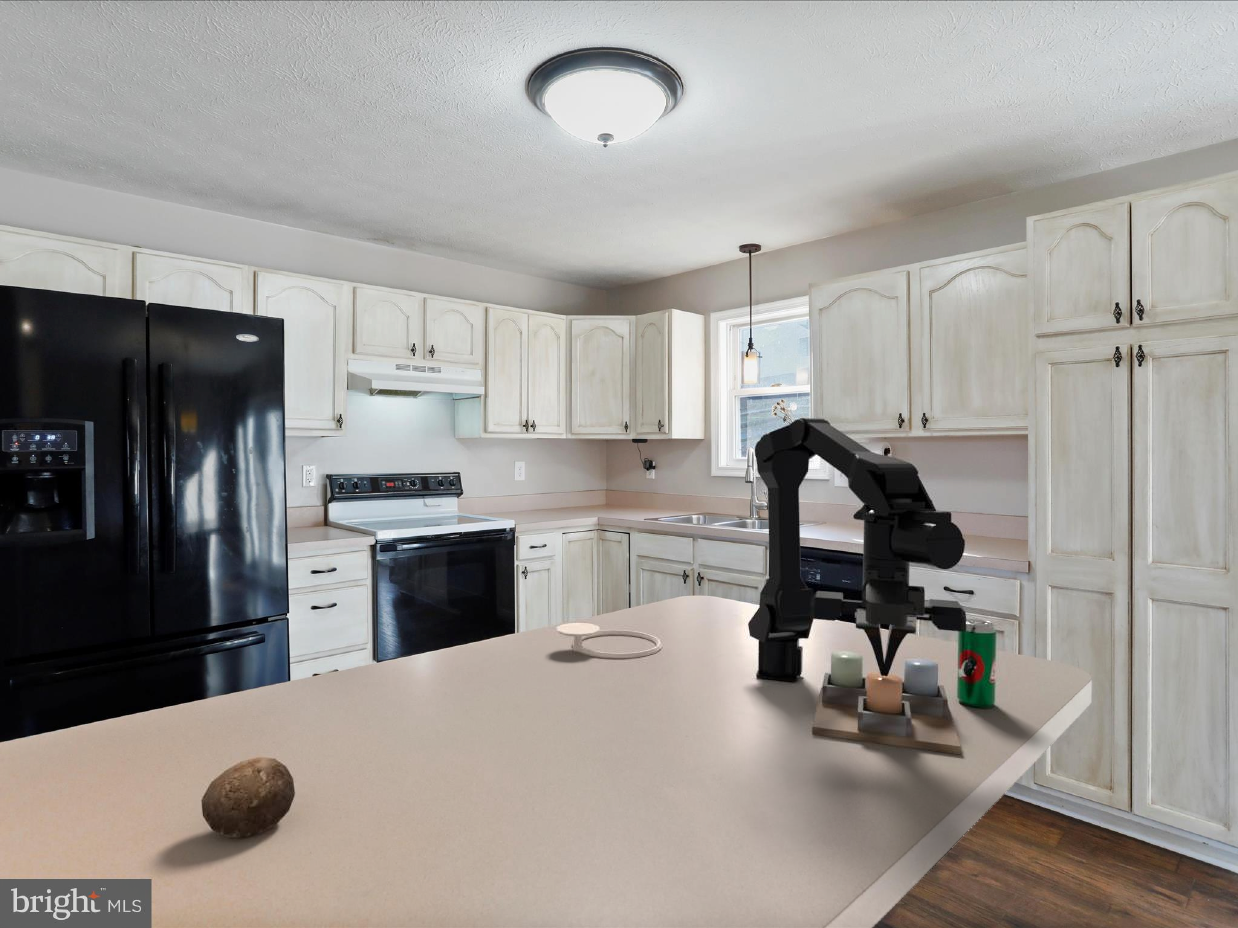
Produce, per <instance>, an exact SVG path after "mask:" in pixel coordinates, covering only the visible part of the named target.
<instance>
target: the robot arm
mask: <svg viewBox="0 0 1238 928" xmlns="http://www.w3.org/2000/svg"><path fill="white" fill-rule="evenodd" d="M816 455H817V457H819V458H820V459H822V460H823V461H825V462H826V463H827V464H828V465H830V466H831V467H833V468H834V469H836V470H837V471H839V472H840V473H841V474H842V475H843V476H845V478H847V481H848V488H849V490H850V491H851V492H852V493H853V494H854V495H855V496H856V497H857V498H858V500H859V501H860V502H862V504H863V505H862V507H861V508H860V509H858V510H857V511H856V512H855V513H854V514H853V517H852V518H853V519H854V520H856V521H857V520H858V521H863V549H862V550H863V552H862V553H863V556H862V557H863V559H862V586H861V600H856V599H855V600H854V599H853V600H852V599H844V593H843V592H836V591H821V590H817V591H816V592H814V589H813V588H809V587H808V586H807V585H806V583H805V581H804V579H803V578H802V574H801V573H802V569H801V568H802V567H801V531H800V530H801V529H800V528H801V525H800V523H801V522H800V487H801V486H802V485H801V484H802V483H803V481H804V479H805V478H806V476H807V475H808V472H809V467H810V466H809V465H810V460H811V459H813V458H815V456H816ZM754 456H755V459H756V460H755V461H756V469H757V473H758V475H759V476H760V478H761V480H762V481H763V484H764V485H765V486H766V488H767V510H768V511H767V512H768V515H767V516H768V552H769V553H768V554H769V559H768V560H769V576H768V579H767V580H766V582H765V584H764V586H763V587H762V589H761V591H760V594H759V606H758V609H757V610H756V611H755V612H754V614H753V616H752V617H751V619H750V620H748V622H747V623H748V624H747V627H748V632H749V636H750V638H751V637H752V639H753V638H754V639H755V640H757V641H758V652H757V653H758V654H757V655H758V661H757V662H758V664H757V672H756V673H755V677H756V678H759V679H768V680H774V681H777V680H778V681H787V682H793V683H794V682H795V683H796V682H797V681H798V679H799V677H800V676H801V675H802V672H803V650H804V649H803V646H802V645H801V646H800V639H801V640H803V639H805V640H806V639H807V640H808V639H809V638H810V633H811V630H812V626H813V623H814V620H821V621H822V620H823V621H832V622H834V621H836V620H838V619H839V618H840V617H841V616H842V614H845V615H854V618H855V628H856V629H858V630H863V631H864V633H865V635H866V637H867V638H868V640H869V642H870V644H871V648H872V650H873V654H874V657H875V660H876V663H877V666H878V670H879V673H880V674H881V676H888V674H890V671H891V668H892V665H893V662H894V660H895V657H896V655H897V652H898V649H899V648H900V645H901V644H902V642H903V640H904V639H905V637H906V636H908V634H910V635H911V634H916V632H917V629H916V628H917V627H916V624H915V623H917V621H919V620H920V621H927V622H928V621H929V622H931V624H933V625H934V627H935V628H937V630H939V631H952V632H958V631H960V632H962V631H966V619H967V614H966V610H965V608H964V607H963V605H961V604H960V602H959V601H957V600H946V599H945V600H944V599H934V598H929V600H928V605H925V604H926V603H925V602H926V600H925V598H926V597H925V596H926V593H925V592H926V591H925V587H924V586H921V585H920V586H919V585H910V563H912V564H917V565H920V566H921V565H922V566H926V567H931V568H936V569H940V570H949V569H952V568H954V567H955V566H957V565H958V564H959V562H960V561H961V559H962V558H963V555H964V552H965V549H966V547H965V545H966V540H965V539H964V537H963V533H962V531H961V529H960V528H959V526H958V525H956V524H955V523H954V522H952V512H951V511H945V510H940V511H937V509H936V507H935V505H934V504H933V500H932V499H931V498H930V496H929V494H928V492H927V490H926V488H925V486H924V484H923V482H922V480H921V478H920V476H919V470H918V469H917V467H916V466H914V464H912V463H911V462H908V461H905V460H903V459H900V458H897V457H894V456H889V455H884V454H881V453H876V452H873V451H872V450H870V449H868V448H867V447H865V446H863V445H862V444H860V443H859V442H857V441H856V440H854V439H852V437H849V435H846V434H845V433H844V432H842V431H840V430H839V429H837V428H835V427H834V426H833V425H831V423H830V422H829V421H828V420H826V419H825V418H821V417H799V418H798V419H795V420H793V421H792V422H791V423H790V424H787V425H785V426H783V427H780V428H777V429H775V430H773V431H770V432H768V433H765V434H763V435H762V436H761V437H760V439H759V440H758V441H757V442H756V444H755V447H754ZM881 625H889V627H888V634H887V639H886V640H887V641H886V649H885V655H884V648H883V641H882V632H881Z"/></svg>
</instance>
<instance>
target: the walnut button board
mask: <svg viewBox="0 0 1238 928" xmlns="http://www.w3.org/2000/svg"><path fill="white" fill-rule="evenodd" d="M866 691H867V676H862V686H861V687H857V688H850V687H841V686H836V685H834V684H832V683H831V672H825V673H824V676H823V681H822V687H820V690H819V695H818V698H817V703H816V708H815V713H814V716H813V717H814V718H813V723H812V725H811V726H812V727H811V730H812V731H811V735H814V736H815V735H816V736H824V737H830V738H831V737H832V738H837V739H838V738H839V739H844V740H845V739H846V740H852V741H860V742H868V743H874V744H880V745H881V744H882V745H889V746H895V747H896V746H897V747H904V748H912V749H918V750H924V751H925V750H926V751H934V752H939V753H940V752H941V753H946V754H947V753H948V754H955V755H961V752H962V750H961V747H962V746H961V743H960V740H959V736H958V732H957V729H956V726H955V722H954V719H953V716H952V712H951V709H950V706H949V703H948V701H949V699H948V696H947V693H946V689H945V686H944V685H942V684H938V694H937V695H935V696H920V695H913V694H910V693H907V692H906V691H905V690H904V680H902V712H901V713H898V714H884V713H877V712H873V711H871V710H869V709H868V708H867V707H866Z"/></svg>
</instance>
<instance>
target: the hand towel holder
mask: <svg viewBox="0 0 1238 928" xmlns="http://www.w3.org/2000/svg"><path fill="white" fill-rule="evenodd" d="M556 631H557V632H558V634H560V635H563V636H566V637H573V640H572V647H571V648H572V651H573V652H575V653H580V654H582V655H585V656H589V657H594V658H599V659H600V658H601V659H615V660H616V659H618V660H620V659H621V660H623V659H624V660H625V659H626V660H627V659H637V658H642V657H647V656H650V655H653V654H656V653H657V652H659V651H660V650H661V648H662V647H663V645H662V642H661V640H660V639H659V638H658V637H656V636H654V635H651V634H649V633H645V632H641V631H635V630H625V629H602V630H601V628H600V626H599V625H596V624H593V623H587V622H585V623H583V622H573V623H572V622H571V623H563V624H561V625H558V626H556ZM603 636H604V637H606V636H628V637H636V638H641V639H645V640H648V641H650V642H653V643H654V644H655V645H656V646H655V647H652V648H649V649H647V650H642V651H641V650H640V651H636V652H620V653H619V652H605V651H604V652H603V651H598V650H591V649H589V648H585V647H583V640H586V639H590V638H596V637H603Z"/></svg>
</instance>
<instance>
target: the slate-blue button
mask: <svg viewBox="0 0 1238 928" xmlns="http://www.w3.org/2000/svg"><path fill="white" fill-rule="evenodd" d="M903 664H904V665H903V667H904V668H903V669H904V670H903V671H904V672H903V681H904V690H905V691H906V692H907V693H910V694H913V695H920V696H935V695H937V694H938V685H939V664H938V662H936V661H933V660H929V659H924V658H918V657H917V658H907V659H905V660H904V663H903Z"/></svg>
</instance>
